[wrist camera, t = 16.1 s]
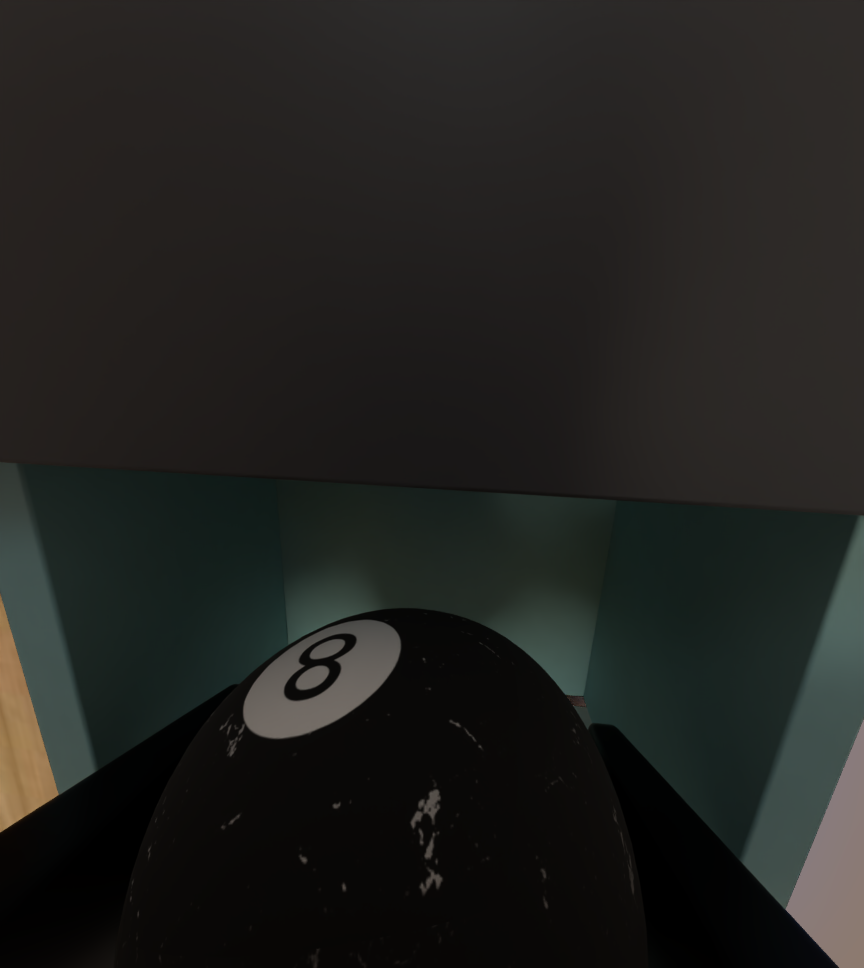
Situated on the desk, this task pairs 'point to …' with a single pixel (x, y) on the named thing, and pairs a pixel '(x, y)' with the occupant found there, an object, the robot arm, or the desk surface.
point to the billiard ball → (389, 816)
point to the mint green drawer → (460, 591)
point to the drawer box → (439, 244)
